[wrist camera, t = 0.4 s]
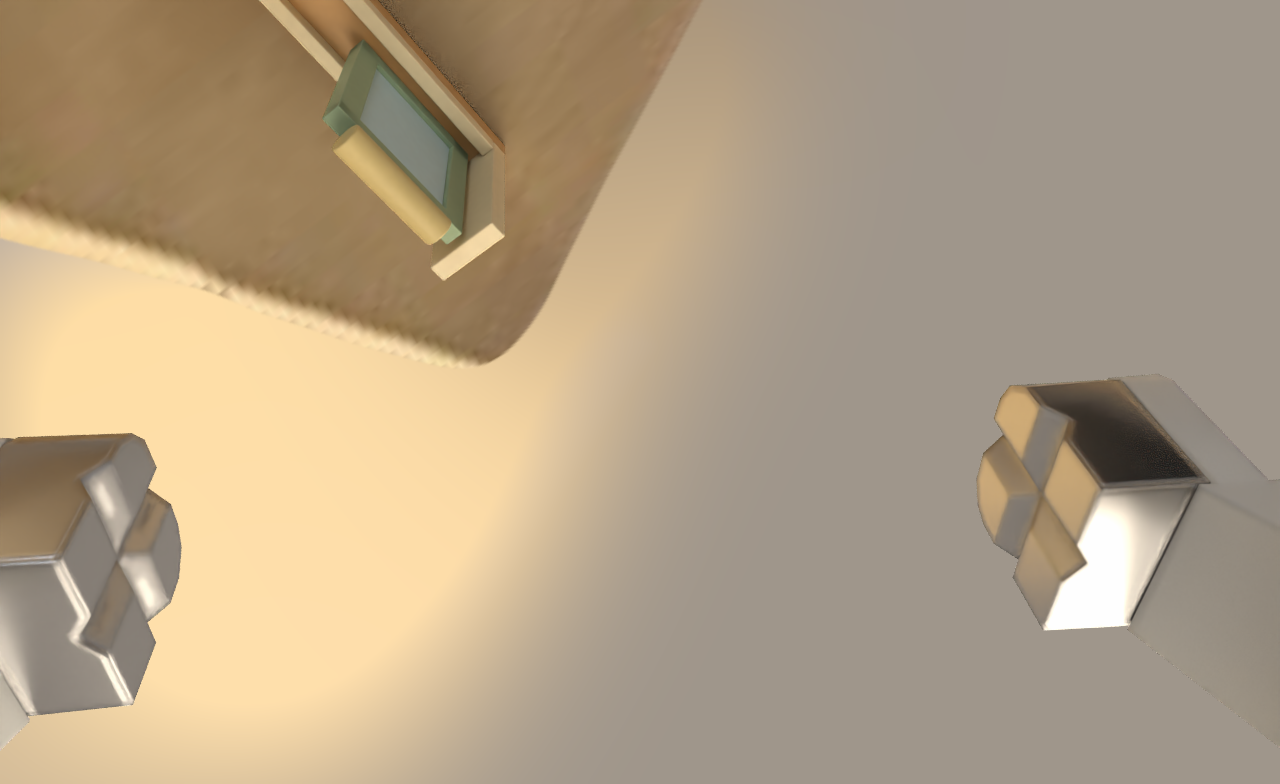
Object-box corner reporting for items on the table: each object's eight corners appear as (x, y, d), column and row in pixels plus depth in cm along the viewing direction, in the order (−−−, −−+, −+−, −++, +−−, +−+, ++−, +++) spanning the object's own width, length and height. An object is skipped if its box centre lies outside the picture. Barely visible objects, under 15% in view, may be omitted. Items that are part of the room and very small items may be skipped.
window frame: (453, 186, 56) (443, 281, 47) (199, -84, 46) (128, -26, 37) (505, 146, 55) (505, 236, 46) (257, -139, 45) (197, -92, 36)
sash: (451, 168, 54) (440, 265, 45) (345, 54, 49) (310, 137, 40) (472, 151, 53) (466, 246, 44) (367, 35, 49) (337, 115, 40)
